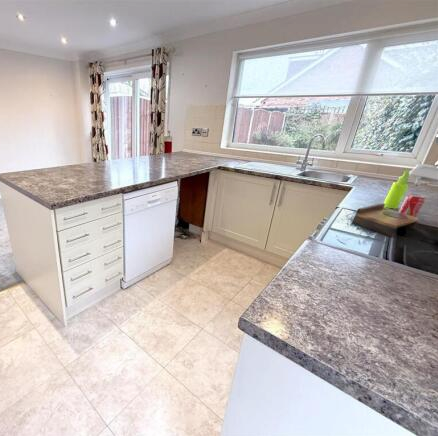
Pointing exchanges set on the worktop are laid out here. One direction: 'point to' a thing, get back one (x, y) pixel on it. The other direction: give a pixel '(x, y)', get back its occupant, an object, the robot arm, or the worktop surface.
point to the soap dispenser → (397, 191)
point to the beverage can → (412, 204)
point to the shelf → (383, 219)
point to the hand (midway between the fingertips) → (428, 188)
